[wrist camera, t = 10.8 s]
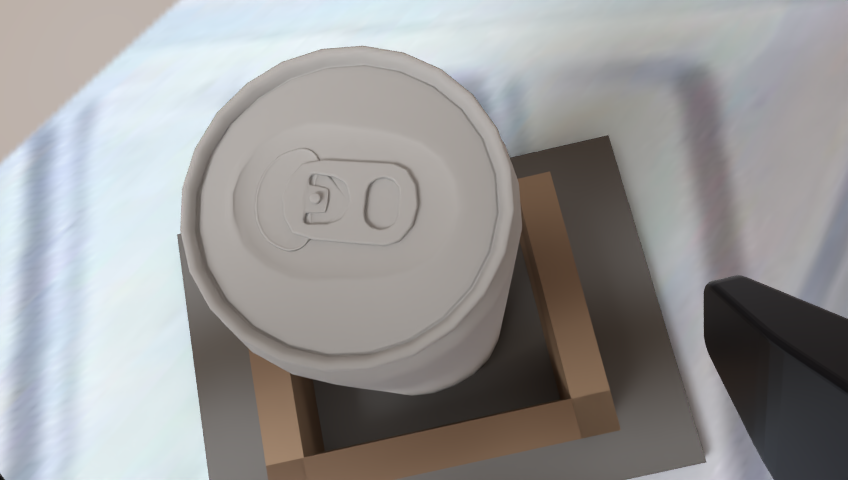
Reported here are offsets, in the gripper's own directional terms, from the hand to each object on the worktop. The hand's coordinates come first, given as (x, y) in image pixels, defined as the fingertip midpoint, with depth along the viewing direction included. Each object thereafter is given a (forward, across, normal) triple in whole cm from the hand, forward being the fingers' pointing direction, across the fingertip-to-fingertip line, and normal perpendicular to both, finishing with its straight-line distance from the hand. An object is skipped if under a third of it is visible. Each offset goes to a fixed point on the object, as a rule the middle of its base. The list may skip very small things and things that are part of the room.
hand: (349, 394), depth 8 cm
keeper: (+10, 0, +8) cm, 13 cm away
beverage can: (+10, 0, +7) cm, 13 cm away
